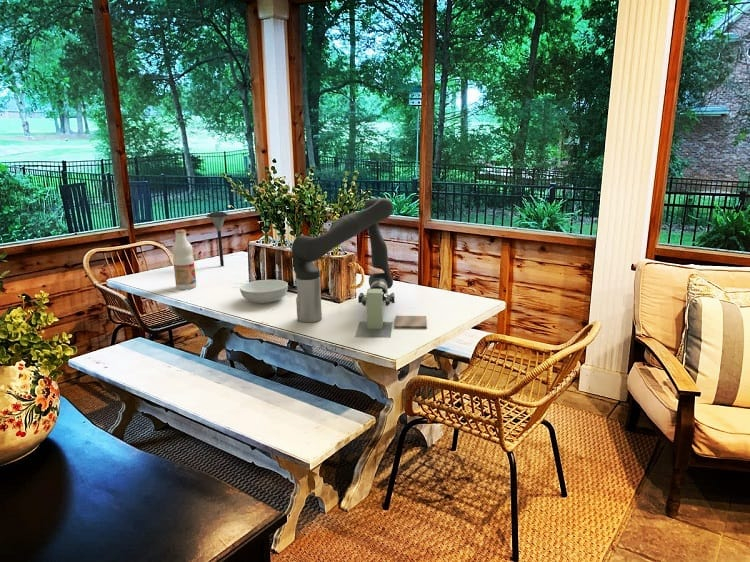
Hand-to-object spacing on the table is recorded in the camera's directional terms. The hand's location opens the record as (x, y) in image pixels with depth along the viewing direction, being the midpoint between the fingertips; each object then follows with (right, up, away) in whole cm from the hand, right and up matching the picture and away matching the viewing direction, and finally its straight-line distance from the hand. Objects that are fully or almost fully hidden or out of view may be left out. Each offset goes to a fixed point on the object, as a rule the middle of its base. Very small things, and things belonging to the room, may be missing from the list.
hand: (375, 303), depth 217 cm
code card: (0, -10, -5) cm, 11 cm away
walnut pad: (+14, -8, +1) cm, 16 cm away
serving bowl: (-49, 0, +34) cm, 60 cm away
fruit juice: (-91, +5, +57) cm, 108 cm away
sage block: (0, -9, -1) cm, 9 cm away
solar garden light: (-85, +17, +98) cm, 131 cm away
